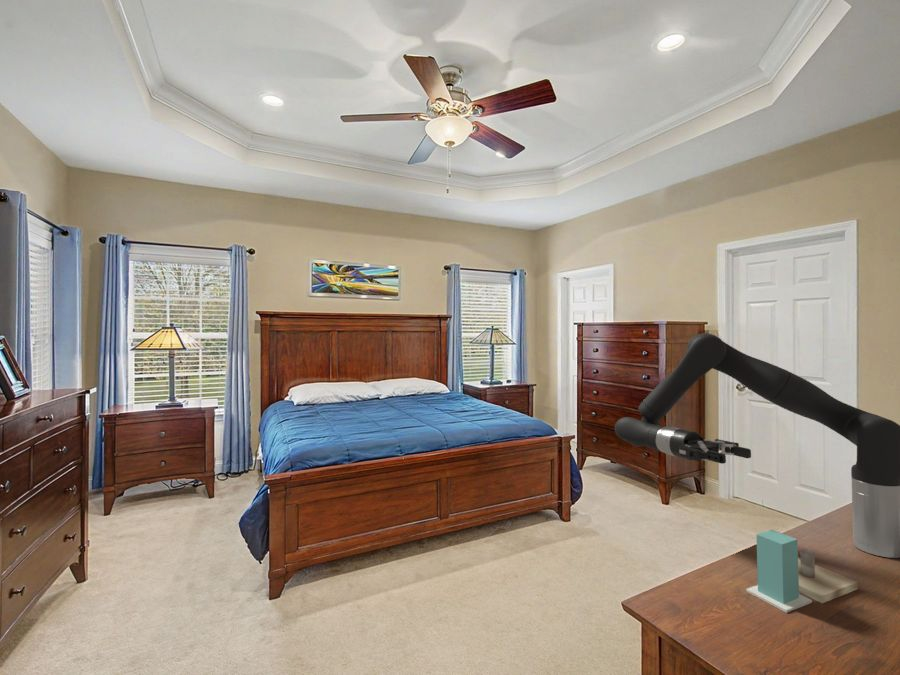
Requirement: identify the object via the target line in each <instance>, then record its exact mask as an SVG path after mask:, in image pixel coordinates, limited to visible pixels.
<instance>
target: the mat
mask: <svg viewBox="0 0 900 675" xmlns="http://www.w3.org/2000/svg"><path fill="white" fill-rule="evenodd" d="M745 592H746V593H748V594H750V595H752V596H754V597H756V598H757V599H759V600H761V601H763V602H765V603H767V604H769V605H771V606H772V607H774V608H777V609H779V610H780V611H782V612H784V613H786V614H787V613H791V612H793V611H794V610H797V609H800V608H802V607H805V606H808V605H810V604H812V603H813V599H812V598H809V597H807V596H805V595H803V594H801V593H799V598H797V599H795V600H792V601H790V602H788V603H785V604H782V603H780V602H778V601H776V600H774V599H772V598H770V597H768V596H766V595H764V594H763V593H761V592H759V591H758V584H757V585H754V586H750V587H748V588H746V589H745Z"/></svg>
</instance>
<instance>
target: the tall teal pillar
mask: <svg viewBox="0 0 900 675" xmlns="http://www.w3.org/2000/svg"><path fill="white" fill-rule="evenodd" d="M755 535H756V563H757V564H756V565H757V568H756V569H757V570H756V571H757V573H756V574H757V585H758V591H759V592H761V593H763V594H764V595H766V596H768V597H770V598H772V599H774V600H776V601H778V602H780V603H782V604H785V603H788V602H790V601H792V600H795V599H797V598H799V594H800V593H799V576H798V558H799V546H798V543H799V542H798V540H799V539H798V538H795V537H792V536H790V535H787V534H784V533H782V532H780V531H776V530H774V529H769V530H766V531H763V532H759V533H757V534H755Z"/></svg>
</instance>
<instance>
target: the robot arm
mask: <svg viewBox="0 0 900 675" xmlns="http://www.w3.org/2000/svg"><path fill="white" fill-rule="evenodd" d="M712 369H713V370H716V371H717V372H720V373H722V374H724V375H727V376H728V377H731V378H732V379H734V380H736V381H737V382H739V383H740V384H741V385H743V386H744V387H745V388H747V389H749V390H750V391H751V392H753V393H755V394H757V395H758V396H760V397H761V398H763V399H765V400H766V401H769V402H771V403H772V404H774V405H776V406H777V407H780V408H782V409H784V410H786V411H789V412H791V413H793V414H796V415H799V416H801V417H804V418H806V419H810V420H813V421H815V422H817V423H819V424H822V425H823V426H825V427H827V428H828V429H830V430H832V431H834V432H835V433H836V434H838V435H840V436H842V437H843V438H845V439H846V440H847V441H849V442H850V443H852V444H853V445H854V446H856V463H855V464H853V465H852V466H851V469H850V470H851V471H850V472H851V474H850V475H851V476H850V477H851V479H850V480H851V509H852V511H851V512H852V544H853V546H854V547H855V548H856V549H859V550H860V551H862V552H865V553H867V554H871V555H875V556H878V557H883V558H888V559H890V558H891V559H898V558H900V424H899V423H897V422H895V421H894V420H891V419H889V418H886V417H883V416H880V415H878V414H875V413H872V412H868V411H865V410H863V409H861V408H859V407H858V408H857V407H854V406H852V405H850V404H848V403H845V402H843V401H841V400H839V399H837V398H836V397H833V396H831V395H830V394H828V393H827V392H826V391H824V390H823V389H822V388H820V387H818V386H817V385H815V384H814V383H812V382H810V381H809V380H807V379H805V378H803V377H801V376H800V375H797V374H795V373H793V372H792V371H789V370H787V369H784V368H782V367H780V366H778V365H775V364H773V363H770V362H767V361H764V360H762V359H759V358H756V357H753V356H750V355H748V354H746V353H744V352H742V351H740V350H738V349H737V348H735V347H734V346H731V345H730V344H728V343H726V342H725V341H723V340H722V339H721V338H720V337H718V336H717V335H715V334H713V333H708V332H702V333H698V334H695V335H693V336H692V337H691V338H689V340H688V341H687V345H686V353H684V356H683V357H682V358H681V360H680V361H679V363H678V364H677V366H676V367H675V368H674V369H673V370H672V372H671V373H670V374H668V375H667V376H666V377H665V378H664V379H663V380H662V381H661V382H660V383H659V384H657V385H656V386H655V387H654V388H653V389H652V390H651V391H650V392H649V393H648V394H647V396H646V397H645V398H644V399H643V400H642V401H641V402H640V403H639V405H638V408H637V409H638V413H639V414H640V415H641V416H642V418H641V419H637V418H635V417H630V416H625V417H621V418H619V419H618V420H617V421H616V422H615V425H614V432H615V434H616V436H617V437H618V438H619V439H621V441H624V442H626V443H628V444H630V445H632V446H634V447H637V448H639V447H643V446H644V447H647V448H648V449H650V450H653V451H657V452H662V453H664V454H666V455H670V456H673V457H676V458H679V459H682V460H683V459H684V460H687V461H695V462H702V461H705V462H709V461H711V462H715V463H719V464H722V465H723V464H726V463H727V458H726V456H727V455H728V456H736V457H740V458H743V459H750V458H751V457H752V450H751V449H750V448H747V447H743V446H740V444H739V442H734V441H728V440H724V439H718V438H715V439H714V440H711V439H706V438H705V439H704V438H703V437H702V435H701V434H700V433H699V432H698V431H694V430H690V429H683V428H679V427H674V426H664V425H660V423H661V420H662V419H663V418H665V416H666V415H667V414H668V413H669V412H670V410H671V409H672V408H673V407H675V405H676V404H678V402H679V400H680V399H682V397H683V396H684V394H686V392H687V391H688V390H690V388H692V386H693V385H694V384H695V383H696V382H697V381H699V380H700V379H701V378H702V377H703V376H704V375H706V374H707V373H708V372H710V371H711V370H712ZM719 451H720V452H719Z"/></svg>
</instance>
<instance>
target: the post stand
mask: <svg viewBox="0 0 900 675" xmlns="http://www.w3.org/2000/svg"><path fill="white" fill-rule="evenodd" d="M799 554H800V556H799V557H798V576H799V594H800V595H802V596H805V597H807V598H809V599H811V600H814V601H816V602H819V603H821V604H825V603H828V602H829V601H832V600H834V599H836V598H839V597H842V596H844V595H847V594H850V593H852V592H854V591H857V590H858V587H859V586H858V581H855V580H853V579H851V578H848V577H846V576H843V575H841V574H838V573H836V572H834V571H832V570H828V569H827V568H825V567H821V566H819V565H817V564H815V553H814V551H813V550H809V549H805V548H804V549H800V550H799Z"/></svg>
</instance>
